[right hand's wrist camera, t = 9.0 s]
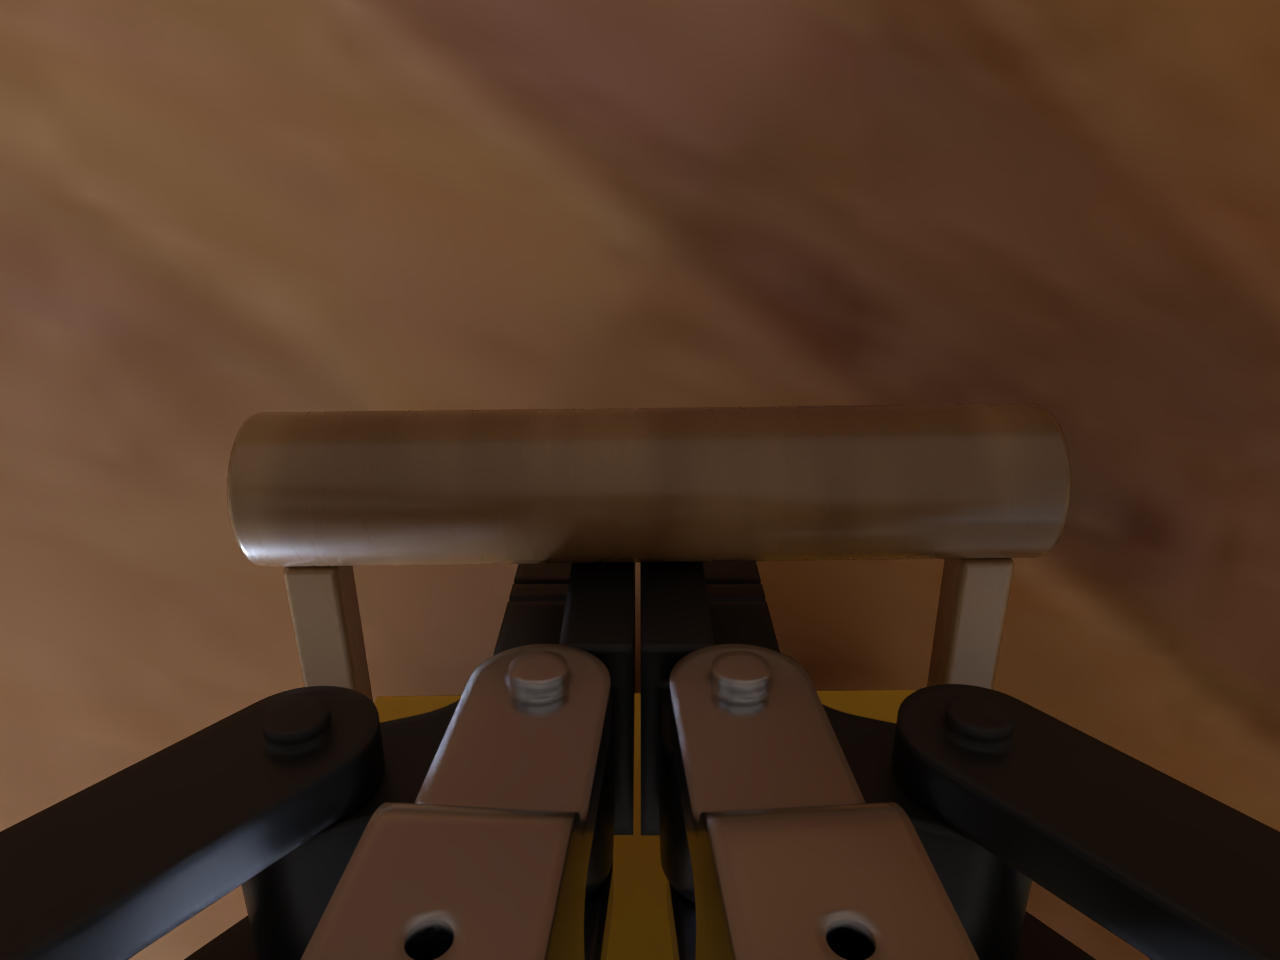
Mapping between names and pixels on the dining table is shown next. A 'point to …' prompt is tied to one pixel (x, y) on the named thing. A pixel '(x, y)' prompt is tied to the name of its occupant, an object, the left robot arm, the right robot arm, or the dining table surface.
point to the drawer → (649, 525)
